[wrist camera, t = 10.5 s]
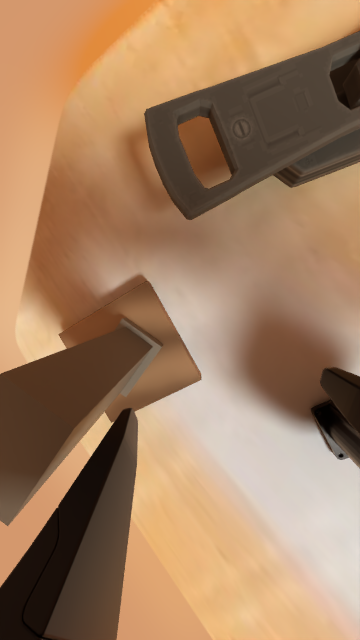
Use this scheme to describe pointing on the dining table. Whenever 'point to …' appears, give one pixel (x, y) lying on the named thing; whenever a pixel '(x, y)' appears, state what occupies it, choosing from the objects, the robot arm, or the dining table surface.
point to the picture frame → (62, 406)
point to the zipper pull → (266, 126)
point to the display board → (149, 314)
